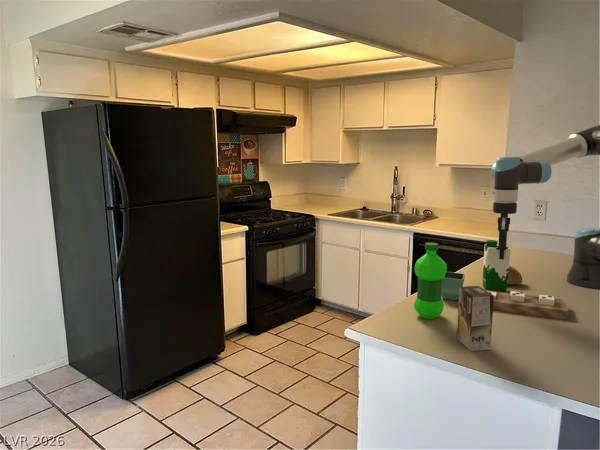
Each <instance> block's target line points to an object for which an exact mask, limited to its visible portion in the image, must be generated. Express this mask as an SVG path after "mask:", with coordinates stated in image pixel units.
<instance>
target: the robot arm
mask: <svg viewBox="0 0 600 450" xmlns="http://www.w3.org/2000/svg"><path fill="white" fill-rule="evenodd" d="M588 156H600V124H598V125H595V126H592V127H589V128H586V129H583V130H581V131H579V132H575V133H572V134H570V135H569V136H568V137H567V139H564V140H560V141H558V142H555V143H553V144H550V145H547V146H544V147H542V148H540V149H536V150H534V151H530V152H528V153H525V154H523V155H519V156H499V157H497V158H496V160H495V162H494V163H493V164H492V166H491V168H490V174H491V177H492V178H493V179H494V185H493V188H494V190H493V191H492V192H491V194H492V195H493V201H494V202H493V203H492V212H493V213H494V214H500V217H499V216H498V218H497V231H498V242H497V244H498V248H496V250H498V256H497V268H505V263H506V249H508V248H509V246H508V243H507V239H508V232H509V229H510V224H511V217H509V215H514V214H516V213H517V211H518V210H517V209H518V203H517V202H518V199H519V185H523V184H526V185H529V184H537V185H538V184H545V183H547V182H548V181H549V180H550V179H551V177H552V172H553V170H552V167H551V166H554V165H558V164H559V163H562V162H566V161H568V160H570V159H573V158H575V159H581V158H583V157H588ZM506 246H507V247H506ZM573 246H574V247H573V248H574V249H573V260H572V264H571V267H570V269H568V270H569V271H568V273H567V274H566V282H568V283H569V284H572V285H575V286H579V287H583V288H592V289H600V228H599V227H598V228H594V227H593V228H592V227H589V228H579V229H577V231H576V232H575V237H574V245H573Z"/></svg>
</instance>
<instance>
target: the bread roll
mask: <svg viewBox="0 0 600 450" xmlns="http://www.w3.org/2000/svg"><path fill="white" fill-rule="evenodd" d="M521 283H523V276H522V274H521V273H520V272H519V271H518V269H517V268H515V267H513V266H511V265H509V274H508V284H507V285H513V286H514V285H520V284H521Z"/></svg>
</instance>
